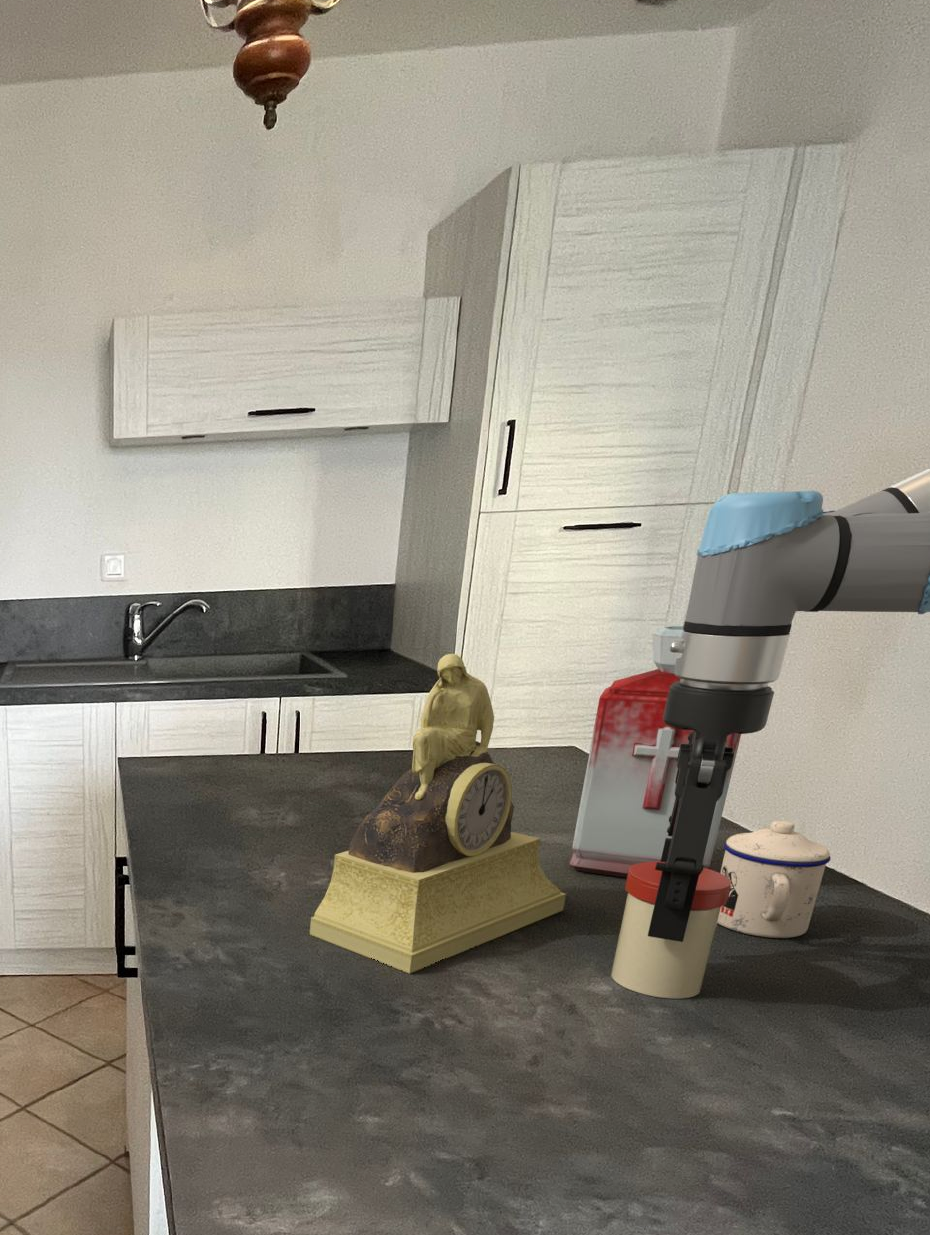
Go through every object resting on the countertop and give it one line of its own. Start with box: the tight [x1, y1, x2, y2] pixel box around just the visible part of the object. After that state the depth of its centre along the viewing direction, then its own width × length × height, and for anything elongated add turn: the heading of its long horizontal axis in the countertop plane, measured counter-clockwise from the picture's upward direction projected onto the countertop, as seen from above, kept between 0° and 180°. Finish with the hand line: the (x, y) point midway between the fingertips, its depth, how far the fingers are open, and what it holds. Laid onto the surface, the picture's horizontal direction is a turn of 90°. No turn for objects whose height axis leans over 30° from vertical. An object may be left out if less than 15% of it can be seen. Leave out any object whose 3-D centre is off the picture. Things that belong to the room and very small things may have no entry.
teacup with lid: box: [717, 820, 831, 939], centre depth 104 cm, size 12×9×12 cm
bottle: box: [569, 625, 742, 879], centre depth 119 cm, size 14×10×30 cm
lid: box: [624, 862, 731, 910], centre depth 92 cm, size 8×8×2 cm
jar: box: [610, 892, 721, 1000], centre depth 94 cm, size 7×7×11 cm
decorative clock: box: [309, 653, 567, 975], centre depth 106 cm, size 28×13×30 cm, turn 123°
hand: (666, 919), depth 93 cm, fingers open, 9 cm apart
